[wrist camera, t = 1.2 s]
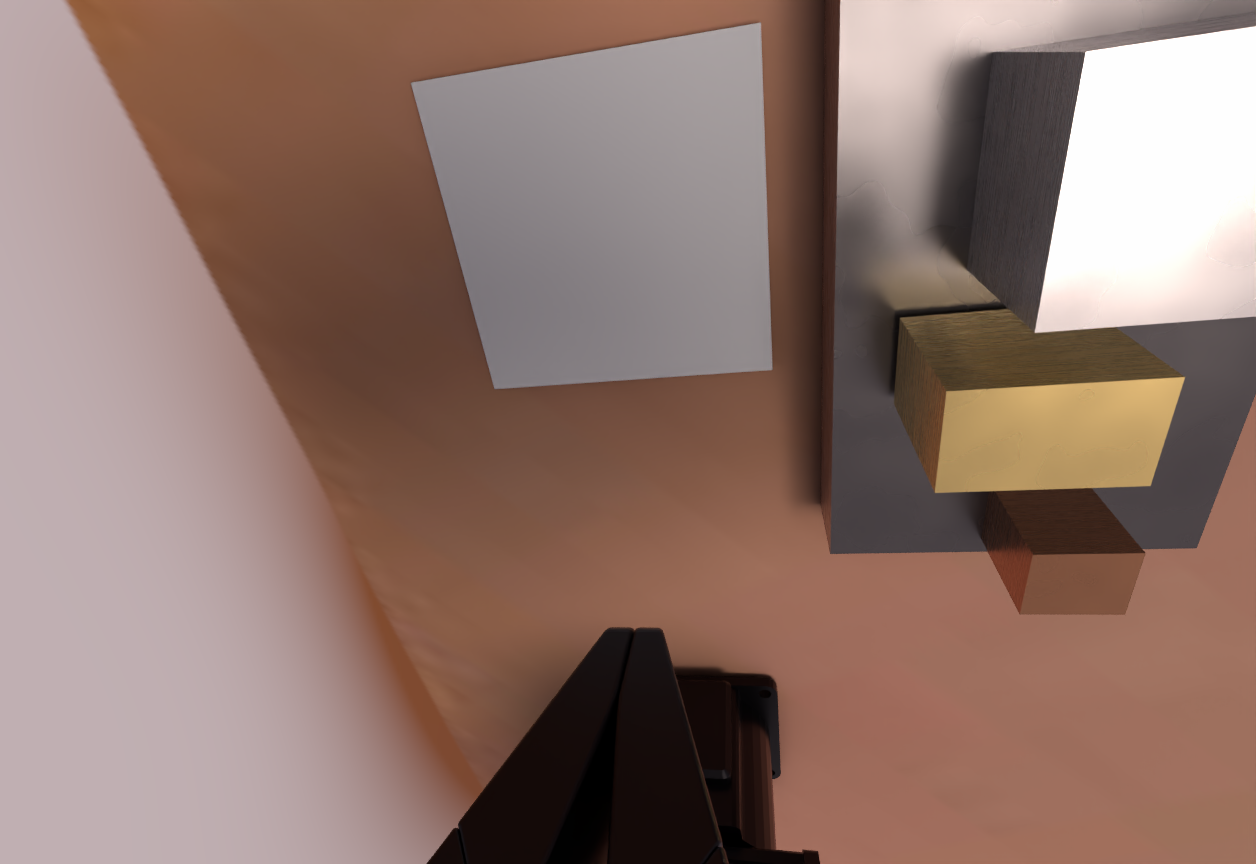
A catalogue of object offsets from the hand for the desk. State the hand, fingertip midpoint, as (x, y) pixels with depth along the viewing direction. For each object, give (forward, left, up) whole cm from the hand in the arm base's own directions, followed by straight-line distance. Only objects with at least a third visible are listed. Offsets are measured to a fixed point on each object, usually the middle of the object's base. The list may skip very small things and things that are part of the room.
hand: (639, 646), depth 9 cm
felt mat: (+3, +2, -12) cm, 13 cm away
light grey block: (+4, -10, -10) cm, 14 cm away
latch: (0, -8, -9) cm, 12 cm away
